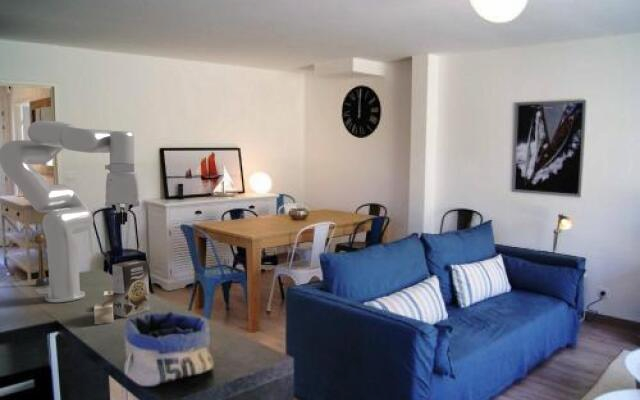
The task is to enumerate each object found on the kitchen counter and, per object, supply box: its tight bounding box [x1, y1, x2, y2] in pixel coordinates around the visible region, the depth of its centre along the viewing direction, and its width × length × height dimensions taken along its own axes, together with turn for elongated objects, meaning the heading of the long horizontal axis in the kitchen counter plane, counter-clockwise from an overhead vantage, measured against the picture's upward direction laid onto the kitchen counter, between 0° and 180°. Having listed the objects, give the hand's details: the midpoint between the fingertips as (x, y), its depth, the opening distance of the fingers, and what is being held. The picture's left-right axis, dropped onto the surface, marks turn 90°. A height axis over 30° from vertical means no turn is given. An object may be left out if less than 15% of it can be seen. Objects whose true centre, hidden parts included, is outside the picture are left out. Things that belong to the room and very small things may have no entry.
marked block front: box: [93, 302, 114, 325], centre depth 157 cm, size 5×5×5 cm
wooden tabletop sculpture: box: [29, 233, 50, 287], centre depth 202 cm, size 6×5×20 cm
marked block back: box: [103, 290, 114, 310], centre depth 172 cm, size 5×5×5 cm
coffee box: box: [112, 259, 150, 318], centre depth 165 cm, size 9×6×16 cm
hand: (122, 224), depth 173 cm, fingers closed
